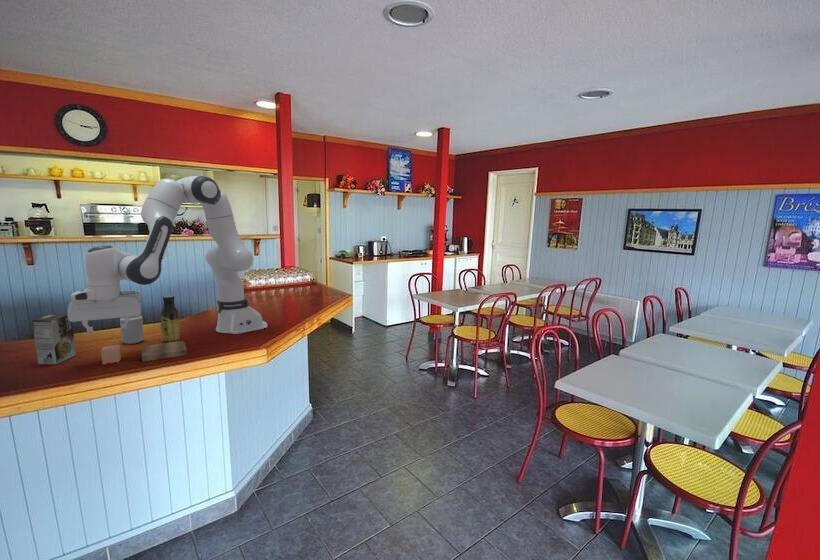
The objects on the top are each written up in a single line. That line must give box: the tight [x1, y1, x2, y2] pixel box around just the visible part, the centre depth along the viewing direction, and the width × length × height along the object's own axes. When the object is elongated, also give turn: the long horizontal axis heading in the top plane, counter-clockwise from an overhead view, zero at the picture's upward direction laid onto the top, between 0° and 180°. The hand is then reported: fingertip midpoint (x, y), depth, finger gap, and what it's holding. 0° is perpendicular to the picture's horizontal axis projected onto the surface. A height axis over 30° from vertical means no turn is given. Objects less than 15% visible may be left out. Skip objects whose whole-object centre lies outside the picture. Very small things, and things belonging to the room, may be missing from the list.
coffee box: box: [31, 312, 77, 365], centre depth 136 cm, size 9×6×16 cm
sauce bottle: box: [160, 294, 180, 343], centre depth 157 cm, size 7×6×20 cm
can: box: [119, 314, 145, 345], centre depth 157 cm, size 8×8×12 cm
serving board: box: [141, 340, 188, 363], centre depth 146 cm, size 14×13×2 cm
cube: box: [100, 344, 122, 365], centre depth 137 cm, size 5×5×5 cm
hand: (107, 330), depth 135 cm, fingers open, 8 cm apart
